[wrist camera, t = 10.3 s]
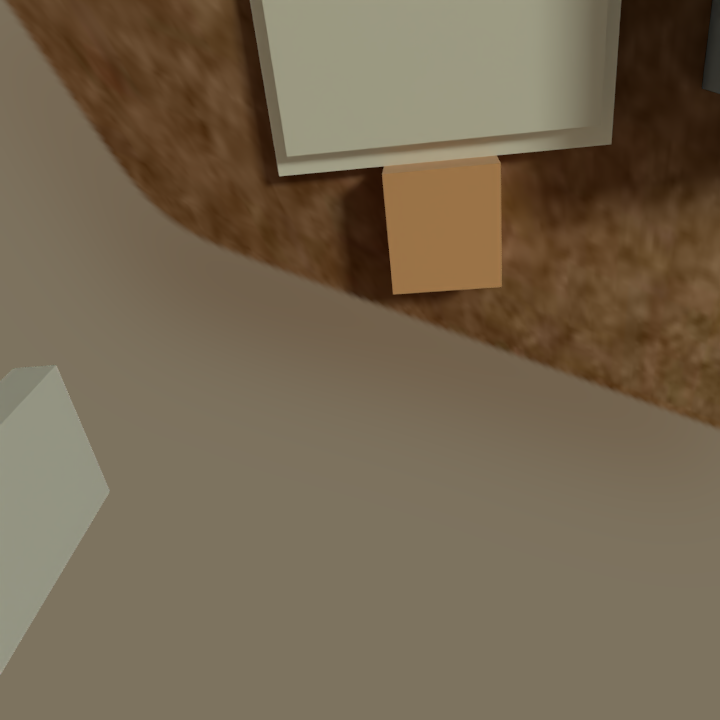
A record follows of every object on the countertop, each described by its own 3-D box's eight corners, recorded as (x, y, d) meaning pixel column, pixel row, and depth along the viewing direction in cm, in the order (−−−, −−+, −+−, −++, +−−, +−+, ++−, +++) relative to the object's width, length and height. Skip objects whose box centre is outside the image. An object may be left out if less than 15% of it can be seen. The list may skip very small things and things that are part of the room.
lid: (209, -285, 17) (184, -320, 15) (637, -368, 15) (665, -418, 13) (301, 280, 24) (291, 301, 22) (597, 258, 22) (612, 278, 21)
